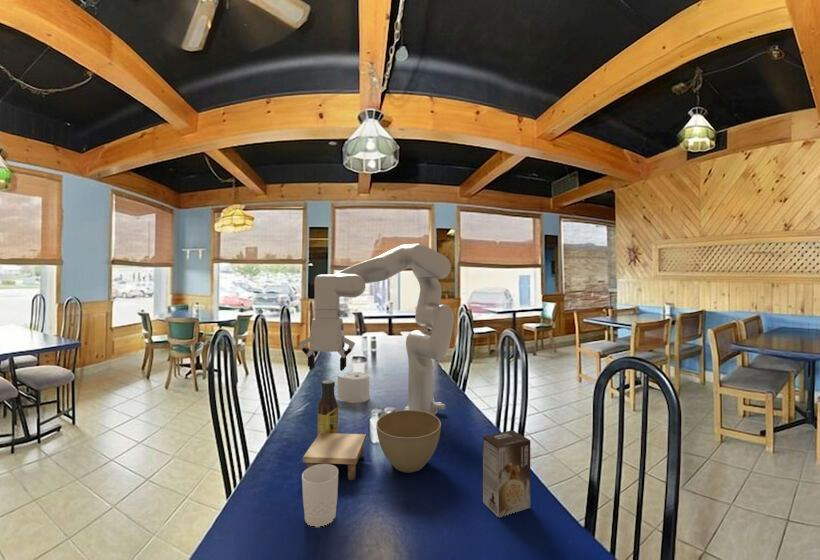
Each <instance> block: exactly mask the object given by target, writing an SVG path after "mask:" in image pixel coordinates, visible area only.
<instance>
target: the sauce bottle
mask: <svg viewBox="0 0 820 560" xmlns="http://www.w3.org/2000/svg"><path fill="white" fill-rule="evenodd" d="M335 383H336V381H335V380H332V379H326V380H322V381H321V391H322V392H321V398H320V399H319V402H318V405H317V407H318V408H317V436H318V435H319V433H339V404H338V402H337V399H336V396H335V386H336V384H335Z"/></svg>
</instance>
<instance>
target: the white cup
mask: <svg viewBox="0 0 820 560" xmlns="http://www.w3.org/2000/svg"><path fill="white" fill-rule="evenodd" d="M301 481H302V482H301V483H302V484H301V486H302V503H303V511H304V514H303V515H304V521H305V524H306V523H307V524H306V525H308V526H309V525H310V526H309V527H311V526H315V527H314V528H321V527H320V526H323V527H325V526H324V525H326V526H328V525H330V524H332V523H333V521H334V520H335V519H336V514H337V504H338V491H339V489H338V488H339V468H338V467H337V466H336V465H334V464H331V463H317V464H315V465H314V466H311V467H309V468H307V467H306V469H305V470H304V471H302V474H301ZM334 518H335V519H334ZM333 519H334V520H333ZM329 523H330V524H329ZM327 524H328V525H327Z"/></svg>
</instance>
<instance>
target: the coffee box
mask: <svg viewBox="0 0 820 560" xmlns="http://www.w3.org/2000/svg"><path fill="white" fill-rule="evenodd" d="M482 503H483V504H484V505H485V506H486V507H487V508H488V509H489V510H490V511H491V512H492V513H493V514H494V515H495V516H496V517H497V518H498V517H499V518H498V519H500V517H501V518H503V516H504V517H507V516H509V514H510V515H512V513H513V514H515V512H516V513H519V512H521V511H525V510H527V509H531V439H529V438H528V437H526V436H524V435H522V434H521V433H519V432H516V431H515V430H512V429H511V430H507V431H503V432H497V433H493V434H489V435H485V436H484V435H483V436H482ZM506 515H507V516H506Z"/></svg>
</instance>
